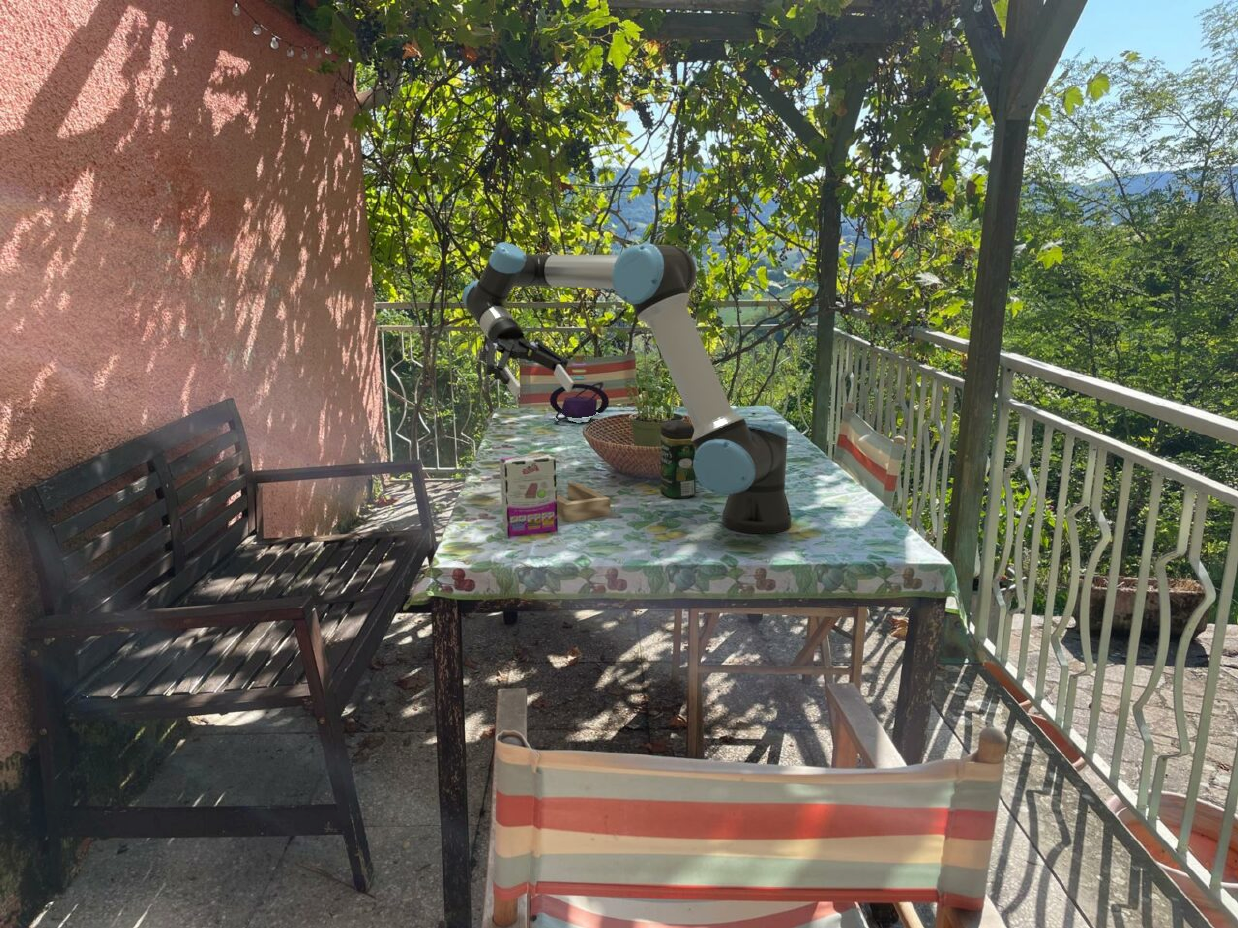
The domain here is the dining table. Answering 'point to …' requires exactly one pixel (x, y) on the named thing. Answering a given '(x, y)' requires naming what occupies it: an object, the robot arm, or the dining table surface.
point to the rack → (582, 504)
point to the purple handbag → (579, 405)
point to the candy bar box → (529, 495)
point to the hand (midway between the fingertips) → (544, 389)
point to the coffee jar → (677, 459)
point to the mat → (612, 514)
